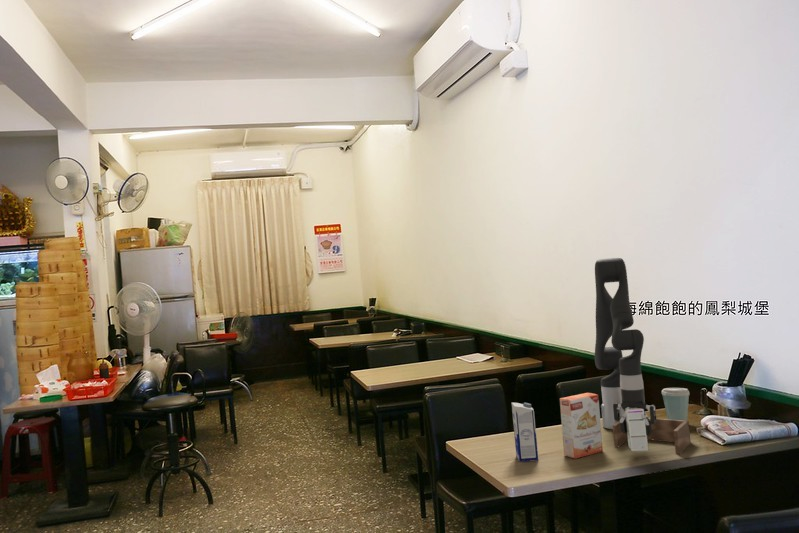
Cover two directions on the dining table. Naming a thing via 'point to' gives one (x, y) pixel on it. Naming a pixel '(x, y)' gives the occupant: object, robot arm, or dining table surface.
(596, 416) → the cracker box
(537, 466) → the dining table surface
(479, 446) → the dining table surface
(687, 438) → the wooden u-shaped bracket
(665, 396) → the disposable coffee cup
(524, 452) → the milk carton
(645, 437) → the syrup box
